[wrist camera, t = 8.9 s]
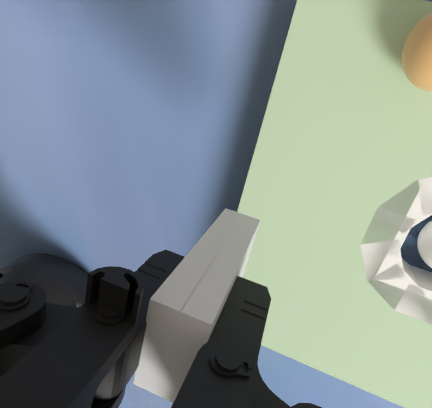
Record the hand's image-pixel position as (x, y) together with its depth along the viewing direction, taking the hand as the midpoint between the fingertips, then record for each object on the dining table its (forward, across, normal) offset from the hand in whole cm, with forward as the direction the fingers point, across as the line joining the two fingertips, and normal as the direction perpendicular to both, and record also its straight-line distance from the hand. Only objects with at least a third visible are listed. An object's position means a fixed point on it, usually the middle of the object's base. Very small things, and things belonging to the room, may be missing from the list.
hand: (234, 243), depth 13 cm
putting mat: (+10, +7, 0) cm, 12 cm away
